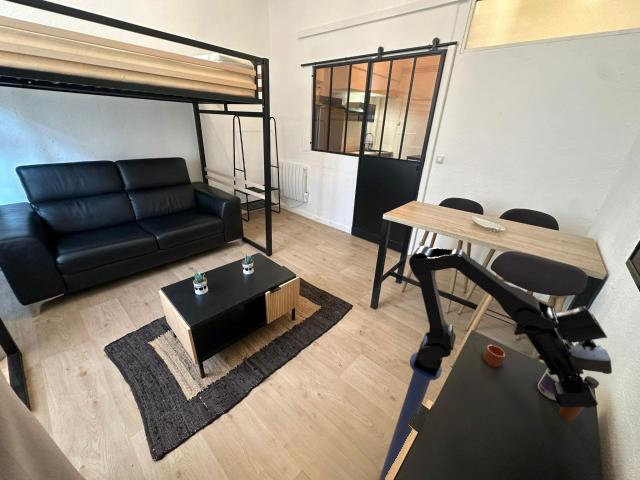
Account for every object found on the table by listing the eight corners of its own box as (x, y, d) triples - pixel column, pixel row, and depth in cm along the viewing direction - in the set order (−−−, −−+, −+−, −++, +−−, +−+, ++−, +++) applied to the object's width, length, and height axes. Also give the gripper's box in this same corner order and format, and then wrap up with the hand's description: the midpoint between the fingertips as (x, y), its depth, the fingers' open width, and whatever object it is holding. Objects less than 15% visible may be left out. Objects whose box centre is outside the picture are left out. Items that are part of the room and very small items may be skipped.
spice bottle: (560, 418, 61) (587, 382, 56) (556, 408, 64) (582, 372, 59) (575, 424, 60) (603, 388, 55) (570, 413, 63) (597, 378, 58)
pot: (482, 362, 83) (487, 352, 81) (482, 352, 87) (487, 342, 85) (500, 369, 81) (505, 359, 79) (499, 358, 85) (504, 349, 83)
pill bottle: (561, 404, 71) (577, 381, 67) (537, 393, 74) (552, 369, 70) (559, 391, 75) (574, 367, 71) (536, 380, 78) (550, 357, 74)
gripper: (608, 367, 47) (658, 440, 46) (581, 314, 62) (619, 369, 61) (538, 373, 54) (580, 437, 53) (528, 324, 69) (562, 374, 68)
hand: (586, 401), depth 59 cm, fingers closed on spice bottle, 3 cm apart
